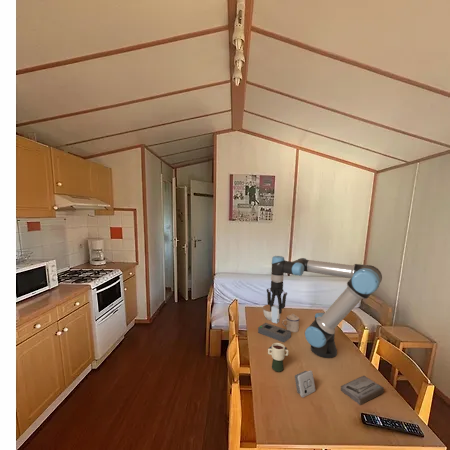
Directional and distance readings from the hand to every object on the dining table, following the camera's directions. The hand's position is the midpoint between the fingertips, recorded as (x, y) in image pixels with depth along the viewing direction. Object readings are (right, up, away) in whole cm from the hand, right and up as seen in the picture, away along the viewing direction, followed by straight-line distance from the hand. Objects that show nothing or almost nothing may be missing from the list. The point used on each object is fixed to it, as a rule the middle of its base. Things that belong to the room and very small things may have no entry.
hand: (275, 317), depth 163 cm
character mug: (-3, -20, -23) cm, 31 cm away
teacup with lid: (+15, -18, +24) cm, 34 cm away
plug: (0, -3, 0) cm, 3 cm away
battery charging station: (+2, -18, +15) cm, 24 cm away
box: (+34, -23, -39) cm, 57 cm away
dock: (0, -19, -4) cm, 20 cm away
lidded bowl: (+4, -16, +42) cm, 45 cm away
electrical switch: (+6, -22, -39) cm, 46 cm away
